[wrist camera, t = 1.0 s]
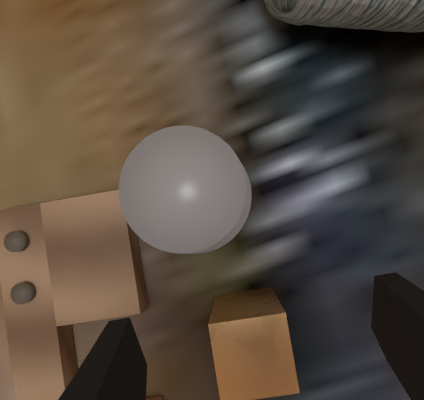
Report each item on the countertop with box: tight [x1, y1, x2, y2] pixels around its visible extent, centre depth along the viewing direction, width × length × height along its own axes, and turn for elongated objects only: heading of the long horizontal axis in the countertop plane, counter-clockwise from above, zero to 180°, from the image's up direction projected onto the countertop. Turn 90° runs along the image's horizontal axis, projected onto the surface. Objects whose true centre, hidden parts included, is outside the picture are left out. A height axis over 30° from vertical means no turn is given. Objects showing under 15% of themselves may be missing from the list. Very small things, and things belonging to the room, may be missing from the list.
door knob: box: [119, 126, 252, 254], centre depth 19 cm, size 7×7×6 cm
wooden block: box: [208, 287, 300, 400], centre depth 19 cm, size 4×4×6 cm
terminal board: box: [0, 190, 162, 400], centre depth 21 cm, size 16×8×2 cm, turn 9°
